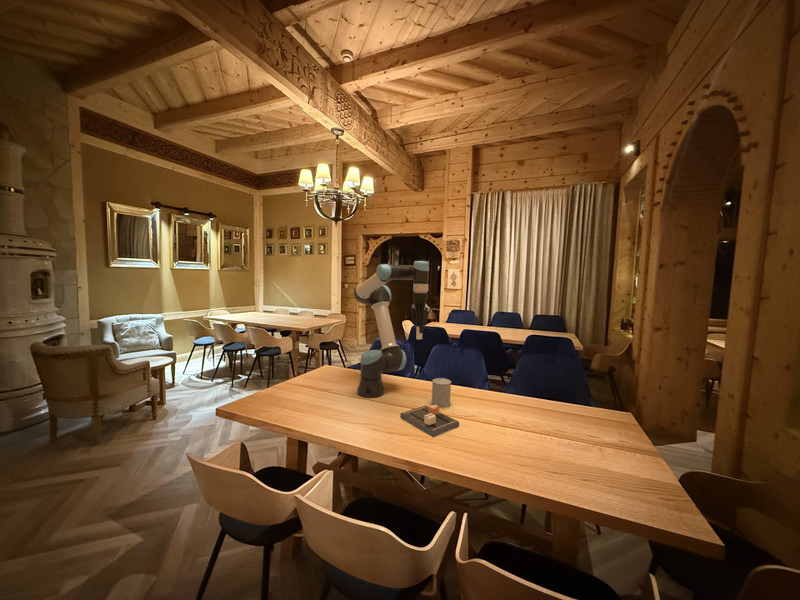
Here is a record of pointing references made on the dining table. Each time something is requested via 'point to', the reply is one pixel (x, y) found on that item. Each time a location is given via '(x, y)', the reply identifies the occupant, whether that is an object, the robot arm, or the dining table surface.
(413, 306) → the robot arm
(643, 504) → the dining table surface
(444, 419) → the console
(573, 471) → the dining table surface
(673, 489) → the dining table surface
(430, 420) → the fader ivory
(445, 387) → the grey speckled cylinder
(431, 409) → the fader terracotta
